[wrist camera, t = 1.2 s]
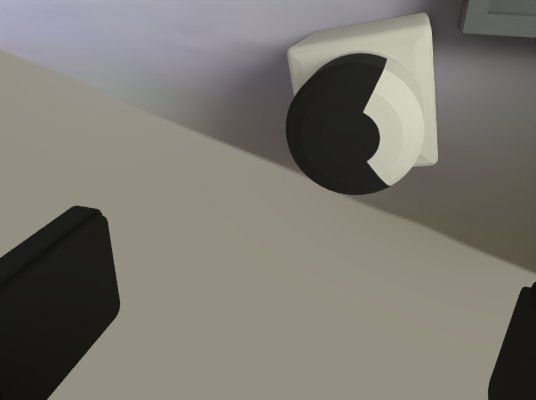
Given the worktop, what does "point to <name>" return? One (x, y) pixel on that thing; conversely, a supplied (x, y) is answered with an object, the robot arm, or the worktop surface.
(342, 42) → the medicine bottle
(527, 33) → the tray
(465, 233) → the worktop surface
